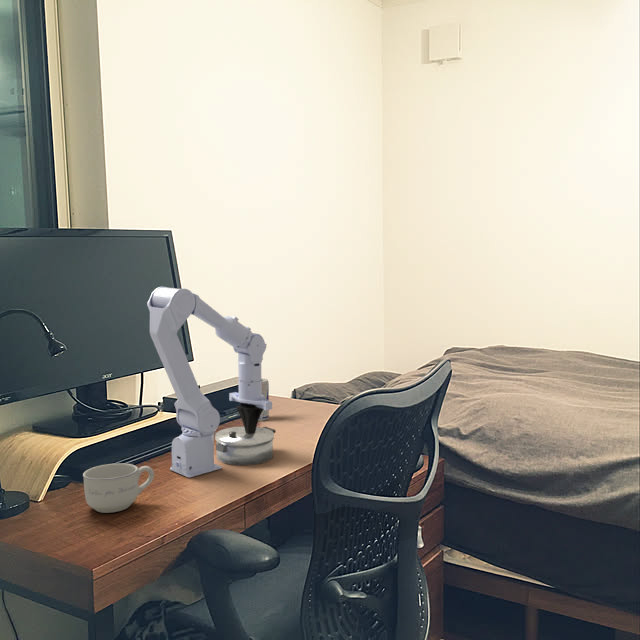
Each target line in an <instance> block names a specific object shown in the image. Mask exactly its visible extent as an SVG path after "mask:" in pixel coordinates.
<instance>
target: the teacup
mask: <svg viewBox="0 0 640 640" xmlns="http://www.w3.org/2000/svg"><path fill="white" fill-rule="evenodd" d="M143 472H147V473H148V478H147V480H146V481H144V482H143V483H142V484H139V480H140V477H141V475H142V473H143ZM82 477H83V487H84V490H83V491H84V498H85V499H84V500H85V502H86V504H87V505H88V506H89V507H90V508H92V509H93V510H95V511H96V512H99V513H102V514H105V513H106V514H108V513H116V512H118V513H119V512H121V511H124V510H127V509H128V508H129V507H131V505H132V504H133V503H134V502H135V501H136V500H137V498H138V496H139V495H140V494H141V493H142V491H143V490H145V489H146V488H147V487H148V486H149V485H151V483H152V482H153V481H154V478H155V471H154V470H153V468H152V467H150V466H148V465H143V466H140V467H138V466H136V465H134V464H133V463H123V462H121V463H119V462H118V463H108V464H101V465H97V466H94V467H91V468H88V469H87V470H85V471H84V472H83V473H82Z"/></svg>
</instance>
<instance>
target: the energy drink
mask: <svg viewBox="0 0 640 640" xmlns="http://www.w3.org/2000/svg"><path fill="white" fill-rule="evenodd" d="M261 389H262V395H264V398H265V399H267V400H269V401H270V399H269V396H270V395H269V391H270V390H269V389H270V388H269V380H268V378H262V377H261ZM269 411H270V410H263V411H262V413H261V415H260V417H259V420H258V422H264V421H267V420H269V418H270V417H269V416H270V412H269Z"/></svg>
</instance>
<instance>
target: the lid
mask: <svg viewBox="0 0 640 640" xmlns="http://www.w3.org/2000/svg"><path fill="white" fill-rule="evenodd" d="M275 433H276V429H275V428H270V427H267V426H263V427H260V426H257V427H256V431H255V433H252V434H247V433H246V432H245V428H244V425H243V426H232V427H227V428H224V429H221V430H218V431H217V432H215V433H214V441H216V443H217V442H218V443H220V444H223V445H227V446H235V447H250V446H258V445H263V444H266V443H269V442H271V441H272V440H274V438H275Z"/></svg>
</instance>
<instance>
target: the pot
mask: <svg viewBox="0 0 640 640" xmlns="http://www.w3.org/2000/svg"><path fill="white" fill-rule="evenodd" d="M273 440H274V439H273ZM273 440H272V441H271V442H269V443H266V444H263V445H258V446H250V447H235V446H227V445H223V444H220V443H218V442H217V441H216V444H215V450H216V459H217V461H219V462H220V461H221V462H220V463H222V464H226V463H227V465H231V464H233V465H232V466H252V465H258V464H260V465H261V464H263V463H267V462H269V461H271V459H272V458H273V456H274V453H273V450H274V449H273V448H274V447H273V446H274V444H273V443H274V441H273Z"/></svg>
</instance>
